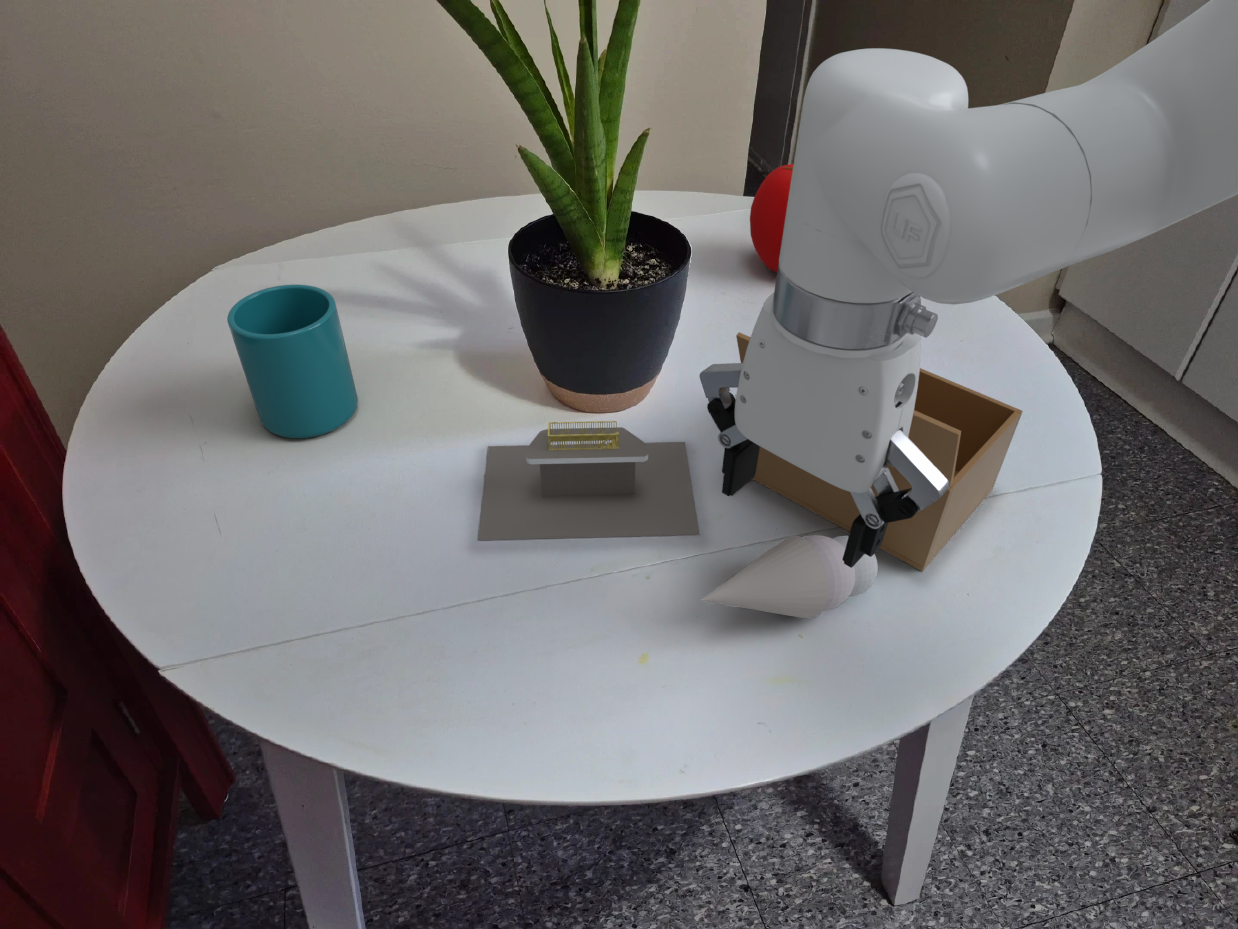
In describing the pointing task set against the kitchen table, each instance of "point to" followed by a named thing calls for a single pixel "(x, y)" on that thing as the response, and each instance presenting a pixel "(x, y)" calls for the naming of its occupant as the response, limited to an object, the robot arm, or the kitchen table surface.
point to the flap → (916, 432)
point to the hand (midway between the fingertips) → (795, 518)
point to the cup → (294, 359)
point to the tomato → (770, 215)
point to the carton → (931, 528)
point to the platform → (587, 487)
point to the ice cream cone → (798, 578)
